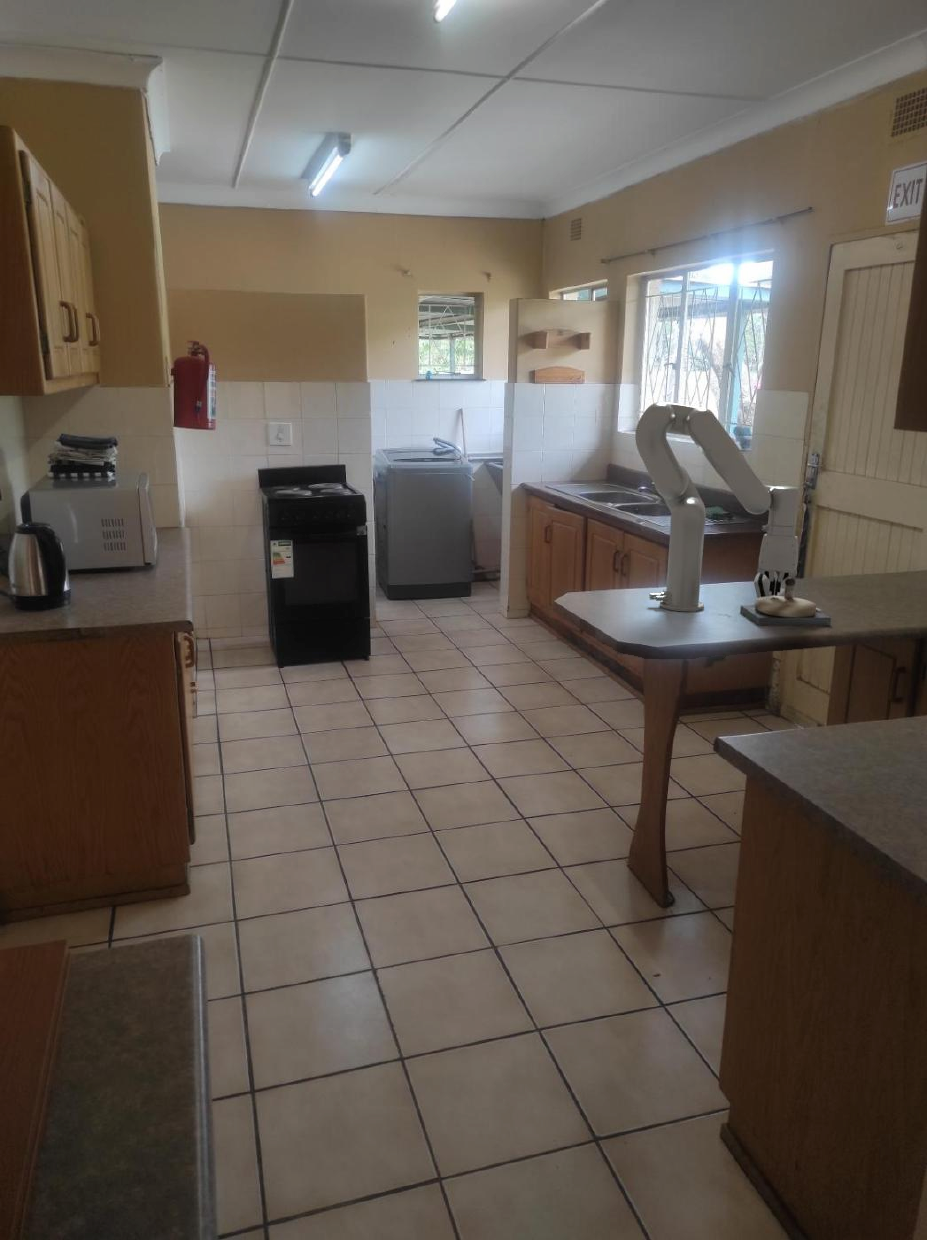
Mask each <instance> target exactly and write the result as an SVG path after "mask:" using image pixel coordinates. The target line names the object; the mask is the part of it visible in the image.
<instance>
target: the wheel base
mask: <svg viewBox="0 0 927 1240" xmlns="http://www.w3.org/2000/svg"><path fill="white" fill-rule="evenodd" d="M739 613H740V614H742V616H744V617H745V618H746V619H749V621H750V622H752V623H753V624H756V625H757V626H759V627H763V626H765V627H767V626H768V627H772V626H773V627H776V626H777V627H778V626H780V627H781V626H783V627H784V626H789V627H790V626H795V625H799V626H801V627H802V626H831V622H832V617H831V616H829V615H827V614H826V613H824V612H823V611H822V609H821V608H818V607H816V613H815V614H814V615H812V616H808V617H782V616H775V615H769V614H765V613H762V612H760V611H758V610H756V609H755V604H751V605H750V604H748V605H747V604H741V605H740V609H739Z"/></svg>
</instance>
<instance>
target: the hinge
mask: <svg viewBox="0 0 927 1240" xmlns="http://www.w3.org/2000/svg"><path fill="white" fill-rule="evenodd" d="M774 578H775V580H776V581H777V578H779V575H778V572H774ZM753 585H754V589H755V593H756V596H757V597H756V599H758V598H760V597H767V596H775V591H774V595H771V593H772V592H769V588H770V580H769V579H768V578H767V577H766V575H764V574H761V573H758V572H757V574H756V575H755V577H754V580H753ZM775 586H776V582H775ZM784 594H785V588H782V587H781V589H780V592H778V593H777V596H784Z"/></svg>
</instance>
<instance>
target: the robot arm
mask: <svg viewBox="0 0 927 1240" xmlns="http://www.w3.org/2000/svg"><path fill="white" fill-rule="evenodd" d="M667 434H673V435H679V436H684V437H685V436H686V437H690V438H691V439H692V441H693V442H694V444H695V445H696V446H697V448H698V449H699V450H700V451H701V454H703V456H704V457H705V459H706V460H707V461H708V463H709V464H710V466H711V467H712V468H713V470H714V471H715V472H716V473H717V475H718V476H719V477H720V478H721V479H722V480H723V481H724V482H725V484H726V485H727V486H728V488H729V489H730V491H731V492H732V493H733V494H734V496H735V497H736V499H737V500H738V502H739V503H740V504H741V506H742V507H743V508H744V509H745V511H747V512H748V513H750V514H753V515H761V514H764V513H765V512H767V511H769V513H768V521H767V524H766V525H762V528H761V531H764V532H765V534H763V537H762V541H761V545H760V551H759V557H758V566H757V570H756V572H757V574H758V573H761V574H764V575H766V577H767V578H768V579H769V580H770V588H769V592H772V593H771V595H774V591H775V596H777V593H778V592H780V589H781V588H782V582H783V581H785V580H786V579H787V578H789V577H796V576H797V575H798V572H797V566H798V558H799V538H798V536H797V535H796V530H797V522H798V513H799V504H800V497H801V493H800V492H801V490H800V489H799V488H798V487H796V486H790V485H779V486H778V485H777V486H774V485H767V484H763V483H762V481H761V480H760V479H759V477H758V476H757V475H756V473H755V472H754V471H753V469H752V468H751V466H750V465H749V463H748V461H747V459H746V457H745V455H744V454H743V452H742V451H741V449H740V447H739V446H738V445H737V444H736V442H735V441H734V439H733V438H732V436H730V434H729V433H728V431H726V429H725V427H724V426H723V425H722V423H721V421H719V420H718V418H717V416H716V415H715V414H714V413H713V411H712V410H710V409H709V408H707V407H702V406H701V407H698V406H690V405H686V404H685V405H684V404H678V403H674V402H673V403H672V402H668V401H667V402H666V401H658V402H655V403H653V404H650V405H649V406H648V407H647V408H646V409H645V411H644V412H643V413H642V414H641V417H640V418H639V420H638V422H637V425H636V429H635V433H634V435H635V437H634V438H635V445H636V449H637V451H638V453H639V456H640V458H641V460H642V462H643V464H644V467H645V469H646V471H647V474H649V477H650V479H651V480H652V483H653V485H654V487H655V490H656V492H657V493H658V494H659V495H660V496H661V497H662V498H663V500H664V502H665V505H667V507H668V509H669V511H670V514H671V515H670V523H669V525H670V528H669V542H668V543H669V546H668V558H667V560H668V561H667V562H668V563H667V574H666V575H667V576H666V587H665V588H666V589H663V590H662V591H661V592H660V593H659V592H658V593H655V592H654V593H653V592H650V593H649V595H648V596H649V600H654V601H657V602H659V607H661V608H663V609H665V610H670V611H673V612H674V611H675V612H686V613H688V612H698V611H702V610H703V609H704V608H705V604H704V602H702V601H700V592H701V591H700V590H701V576H702V566H703V555H704V554H703V553H704V552H703V551H704V540H705V529H706V524H707V522H706V521H707V513H706V511H707V510H706V507H705V504H704V502H703V500H702V497H701V496H700V494H699V491H698V490H697V488H696V486H695V484H694V483H693V481H692V478H691V476H690V475H689V473H688V471H687V469H686V468H685V467H684V466H683V465H680V463H679V461H678V460H677V458H676V455H675V454H674V452H673V449H672V448H671V445H670V443H669V442H668V439H667V438H668V437H667ZM774 572H776V573H779V574H778V578H777V581H776V580H775V578H774ZM775 582H776V586H775Z"/></svg>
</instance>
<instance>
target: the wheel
mask: <svg viewBox="0 0 927 1240" xmlns="http://www.w3.org/2000/svg"><path fill="white" fill-rule="evenodd" d="M784 584H785V586H784V587H785V588H784V589H785V594H784V596H767V597H760V598H756V599H755V604H754V605H755V609H756V610H758V611H760V612H762V613H765V614H769V615H775V616H782V617H808V616H812V615H814V614H815V613H816V608H817V604H816V603H815V602H813V601H811V600H807V599H804V598H799V597H794V592H795V586H796V580H795V578H794V577H792V576H790V577H787V578H786V579H784Z"/></svg>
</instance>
